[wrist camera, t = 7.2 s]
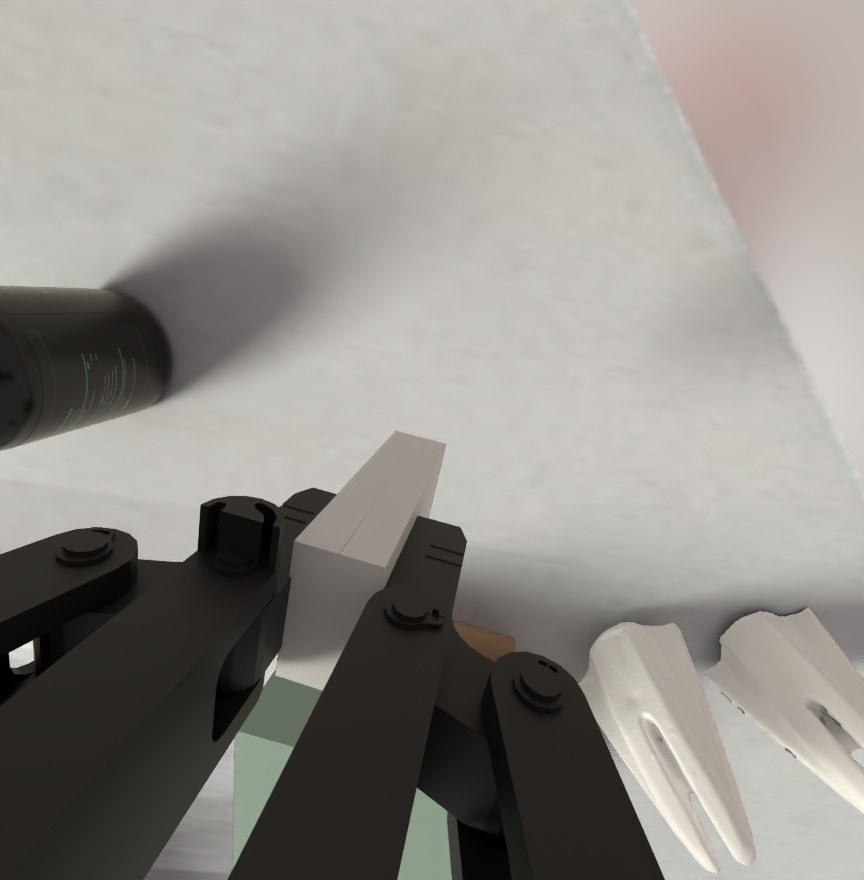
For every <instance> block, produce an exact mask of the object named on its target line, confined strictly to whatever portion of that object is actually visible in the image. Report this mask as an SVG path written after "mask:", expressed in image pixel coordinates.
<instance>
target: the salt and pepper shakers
mask: <svg viewBox="0 0 864 880" xmlns="http://www.w3.org/2000/svg"><path fill="white" fill-rule="evenodd" d="M720 643H721V645H722V648H721V660H720V661H719V662H718V663H717V664H716V666H714V667H713V668H711V669H706V670H705V673H704V674H705V676H706V677H707V679H708V681H709V683H711V684H712V685H713V686H714V687H716V688H717V689H718V690H719V691H720V692H721V694H723V695H724V696H725V697H726V698H728V699H729V702H730V703H731V704H732V703H733V705H736V706H737V709H738V708H739V709H740V710H741V711H742V713H744V714H746V715H747V716H749V717H750V718H751V719H752V720H753V721H754V722H755V723H756V724H758V725H759V726H760V727H761V728H762V729H763V730H764V731H766V732H767V733H768V734H769V735H770V736H771V737H772V738H773V739H774V740H776V741H777V742H778V743H779V744H780V745H782V746H783V747H784V748H785V750H786V751H789V752H790V753H791V754H792V755H793V756H794V757H795V758H796V759H798V760H799V761H801V762H802V763H803V764H804V765H805V766H807V767H808V768H809V769H810V770H811V771H813V772H814V773H815V774H816V775H817V776H819V777H820V778H821V779H822V780H823V781H824V782H826V783H827V784H828V785H829V786H830V787H831V788H833V789H834V790H835V791H836V792H837V793H838V794H839V795H841V796H842V797H843V798H844V799H845V800H847V801H848V802H849V803H851V804H852V805H853V806H854V807H856V808H857V809H858V810H859V811H861V812H862V813H863V814H864V768H863V767H862V766H861V765H860V764H858V762H857V761H856V760H854V759H853V758H852V756H851V755H850V754H851V753H852V752H853V751H854V750H856V749H858V748H862V749H863V750H864V679H863V677H862V676H861V675H860V673H859V672H858V671H857V669H856V668H855V667H854V666H853V664H852V663H851V662H850V660H849V659H848V658H847V656H846V655H845V654H844V652H843V651H842V650H841V648H840V647H839V646H838V645H837V643H836V642H835V641H834V639H833V638H832V637H831V635H830V634H829V633H828V631H827V629H825V628H824V627H823V625H822V624H821V623H820V622H819V620H818V619H817V617H816V615H815V614H814V612H813V611H812V610H810V608H809V607H807V608H806V609H804V610H803V611H802V612H799V613H797V614H793V615H792V614H790V615H789V616H786V617H785V616H781V617H780V616H777V615H775V614H774V613H769V612H766V611H765V612H762V611H759V612H757V613H754V614H750V615H748V616H745V617H742V618H740V620H737V621H735V623H734V624H733V625H731V626H730V627H729V628H728V630H726V631H725V634H723V635H722V636H721V637H720ZM578 685H579V686H580V688H581V689H582V691H583V693H584V694H585V696H586V699H587V701H588V703H589V706H590V708H591V710H592V713H593V715H594V717H595V719H596V721H597V723H598V724H599V725H600V727H601V728H602V730H603V731H604V733H605V734H606V736H607V738H608V739H609V740H610V742H611V743H612V745H613V746H614V748H615V749H616V751H617V752H618V754H619V755H620V756H621V758H622V759H623V761H624V762H625V763H626V765H627V766H628V768H629V769H630V770H631V772H632V773H633V775H634V776H635V778H636V779H637V780H638V782H639V783H640V785H641V786H642V787H643V789H644V790H645V792H646V793H647V795H648V796H649V797H650V799H651V800H652V802H653V803H654V805H655V806H656V807H657V809H658V810H659V812H660V813H661V815H662V816H663V817H664V819H665V820H666V821H667V823H668V824H669V825H670V827H671V828H672V830H673V831H674V833H675V834H676V835H677V836H678V837H679V839H680V840H681V841H682V843H683V844H684V845H685V846H686V847H687V849H688V850H689V851H690V852H691V854H692V855H693V856H694V857H695V858H696V859H697V861H698V862H699V863H700V864H701V865H702V866H703V867H704V868H705V869H707V870H708V871H709V872H712V873H718V872H719V871H720V863H719V860H718V857H717V855H716V853H715V851H714V849H713V847H712V844H711V842H710V840H709V838H708V836H707V834H706V832H705V830H704V828H703V826H702V824H701V822H700V820H699V818H698V816H697V814H696V812H695V810H694V808H693V806H692V804H691V799H690V794H691V793H693V794H695V795H696V796H697V798H698V799H699V801H700V802H701V804H702V805H703V807H704V809H705V810H706V812H707V814H708V815H709V817H710V819H711V820H712V822H713V824H714V825H715V827H716V829H717V830H718V832H719V834H720V835H721V837H722V839H723V840H724V842H725V843H726V845H727V846H728V848H729V850H730V851H731V853H732V855H733V856H734V857H735V859H736V860H737V861H738V862H740V863H742V864H744V865H746V866H750V865H752V864H753V863H754V861H755V859H756V850H755V846H754V842H753V837H752V833H751V829H750V826H749V823H748V820H747V817H746V814H745V810H744V807H743V803H742V800H741V796H740V793H739V790H738V787H737V784H736V781H735V777H734V775H733V772H732V769H731V766H730V763H729V761H728V758H727V755H726V752H725V749H724V747H723V743H722V740H721V738H720V735H719V732H718V729H717V726H716V723H715V721H714V718H713V715H712V712H711V709H710V706H709V704H708V701H707V698H706V695H705V693H704V690H703V688H702V685H701V682H700V679H699V677H698V674H697V672H696V669H695V666H694V664H693V661H692V658H691V656H690V653H689V651H688V649H687V646H686V643H685V641H684V638H683V636H682V633H681V631H680V629H679V628H678V627H677V625H676V624H674V623H670V624H666V625H661V626H647V625H639V624H637V623H634V622H621V623H619V624H618V625H616V626H613V627H611V628H609V629H607V630H606V631H605V632H603V633H602V634H601V635H600V636H599V637H598V638H597V640H596V641H595V642H594V644H593V645H592V647H591V649H590V651H589V665H588V669H587V672H586V674H585V676H584V677H583V679H582V680H581V681H580V682H579V683H578Z"/></svg>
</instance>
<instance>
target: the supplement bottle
mask: <svg viewBox="0 0 864 880" xmlns="http://www.w3.org/2000/svg"><path fill="white" fill-rule="evenodd" d="M170 373H171V354H170V349H169V345H168V341H167V339H166V336H165V334H164V332H163V330H162V328H161V326H160V325H159V323H158V322H157V320H156V319H155V318H154V316H153V315H152V314H151V313H150V312H149V311H148V310H147V309H146V308H145V307H144V306H143V305H142V304H140V303H139V302H137V301H136V300H134V299H133V298H131V297H129V296H127V295H125V294H122V293H119V292H116V291H112V290H104V289H87V288H56V287H25V286H0V451H1V450H6V449H10V448H13V447H17V446H20V445H24V444H27V443H31V442H34V441H38V440H41V439H45V438H48V437H52V436H56V435H59V434H63V433H66V432H70V431H73V430H77V429H80V428H84V427H87V426H91V425H94V424H98V423H101V422H105V421H108V420H112V419H115V418H119V417H122V416H126V415H129V414H132V413H135V412H139V411H141V410H143V409H146V408H148V407H149V406H151V405H152V404H153V403H155V402H156V401H157V400H158V399H159V398H160V396H161V395H162V394H163V392H164V391H165V389H166V387H167V384H168V381H169V378H170Z"/></svg>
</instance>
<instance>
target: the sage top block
mask: <svg viewBox="0 0 864 880" xmlns="http://www.w3.org/2000/svg"><path fill="white" fill-rule="evenodd" d="M275 673H276V669H275V671H274V672H273V674H272V675H271V677H270V678H269V680H268V681H267V683H266V684H265V686H264V687H263V689H262V692H261V695H260V697H259V700H258V702H257V703H256V705H255V706H254V708H253V710H252V711H251V713H250V714H249V716H248V717H247V719H246V720H245V722H244V724H243V725H242V727H241V728H240V730H239V731H238V733H237V734H236V736H235V749H234V809H233V868H234V866H235V864H236V862H237V860H238V858H239V856H240V854H241V852H242V850H243V848H244V846H245V844H246V842H247V840H248V838H249V836H250V834H251V832H252V830H253V828H254V826H255V824H256V822H257V820H258V818H259V816H260V814H261V812H262V810H263V808H264V806H265V804H266V802H267V800H268V798H269V796H270V794H271V792H272V790H273V788H274V786H275V784H276V782H277V781H278V779H279V777H280V775H281V773H282V771H283V769H284V767H285V765H286V763H287V761H288V759H289V757H290V755H291V753H292V751H293V749H294V747H295V745H296V743H297V741H298V739H299V737H300V735H301V733H302V731H303V729H304V727H305V725H306V723H307V721H308V719H309V717H310V715H311V713H312V711H313V709H314V707H315V705H316V703H317V701H318V699H319V697H320V695H321V693H322V690H319V689H316V688H313V687H310V686H307V685H304V684H301V683H298V682H294V681H291V680H288V679H285V678H282V677H279V676H276V675H275ZM397 880H451V864H450V852H449V839H448V827H447V811H446V810H445V809H444V808H443V807H441V806H440V805H439V804H437V803H436V802H435V801H433V800H432V799H431V798H430V797H428V796H427V795H426V794H424V793H423V792H422V791H420V790H419V789H418V788H417V789H416V794H415V799H414V803H413V808H412V813H411V818H410V822H409V827H408V832H407V837H406V841H405V846H404V851H403V856H402V860H401V865H400V870H399V875H398V879H397Z"/></svg>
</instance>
